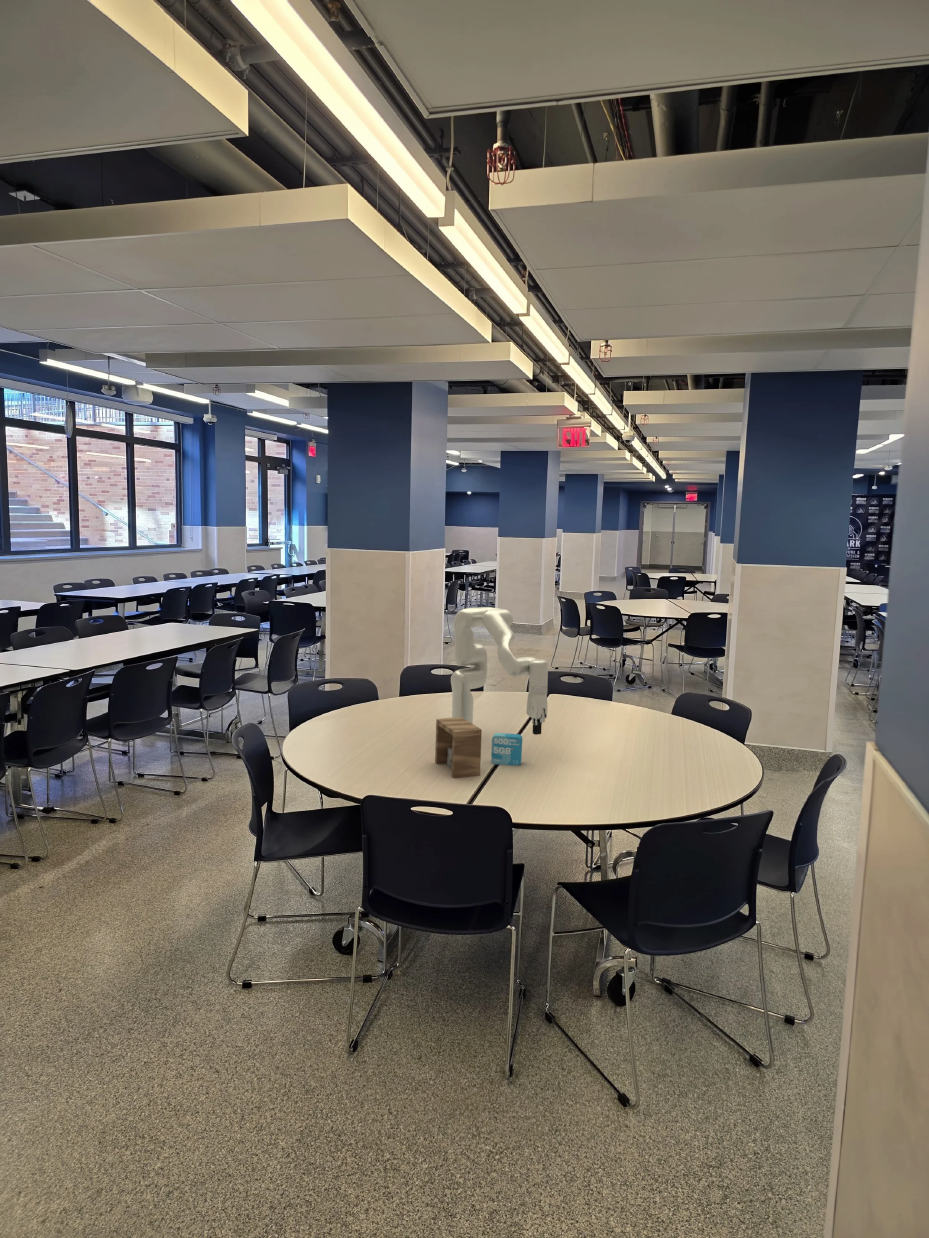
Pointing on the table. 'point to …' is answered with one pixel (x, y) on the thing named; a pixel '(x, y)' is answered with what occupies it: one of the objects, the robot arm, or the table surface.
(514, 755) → the data package
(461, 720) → the overhang shelf
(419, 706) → the table surface
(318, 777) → the table surface
